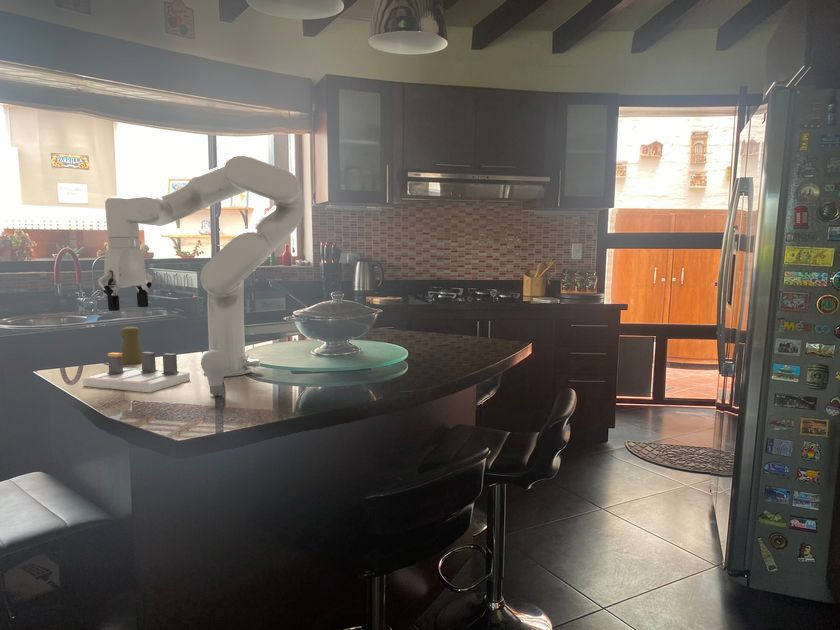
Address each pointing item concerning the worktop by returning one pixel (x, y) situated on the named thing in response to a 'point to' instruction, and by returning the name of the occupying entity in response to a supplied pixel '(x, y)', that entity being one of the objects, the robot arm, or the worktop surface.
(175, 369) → the breaker
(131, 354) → the cork
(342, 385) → the worktop surface
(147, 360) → the breaker
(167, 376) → the breaker panel
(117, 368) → the breaker
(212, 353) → the lightbulb
